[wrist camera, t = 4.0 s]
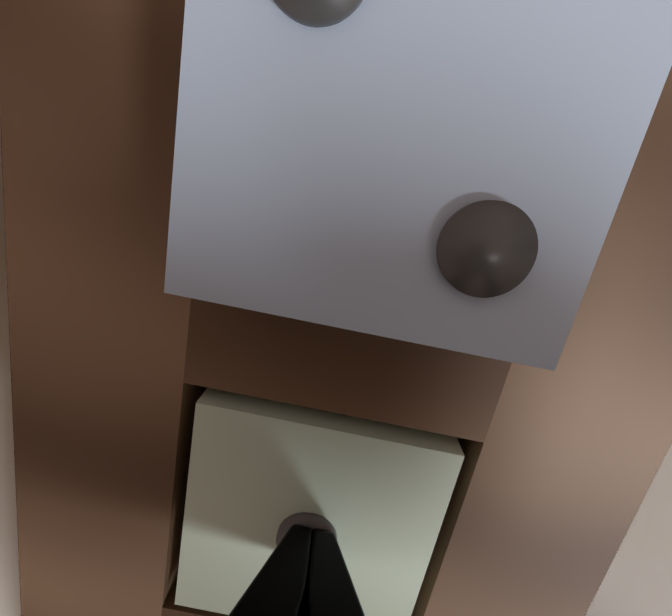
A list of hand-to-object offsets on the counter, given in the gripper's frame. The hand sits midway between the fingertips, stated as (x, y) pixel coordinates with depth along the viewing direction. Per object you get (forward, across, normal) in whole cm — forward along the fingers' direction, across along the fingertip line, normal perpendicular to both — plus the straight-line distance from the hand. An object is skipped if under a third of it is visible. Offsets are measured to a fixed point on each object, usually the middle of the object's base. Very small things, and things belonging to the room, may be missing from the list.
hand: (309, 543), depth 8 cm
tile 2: (0, 0, -8) cm, 8 cm away
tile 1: (+2, 0, 0) cm, 2 cm away
